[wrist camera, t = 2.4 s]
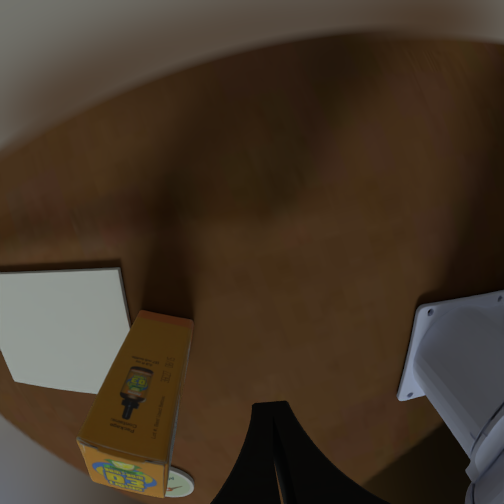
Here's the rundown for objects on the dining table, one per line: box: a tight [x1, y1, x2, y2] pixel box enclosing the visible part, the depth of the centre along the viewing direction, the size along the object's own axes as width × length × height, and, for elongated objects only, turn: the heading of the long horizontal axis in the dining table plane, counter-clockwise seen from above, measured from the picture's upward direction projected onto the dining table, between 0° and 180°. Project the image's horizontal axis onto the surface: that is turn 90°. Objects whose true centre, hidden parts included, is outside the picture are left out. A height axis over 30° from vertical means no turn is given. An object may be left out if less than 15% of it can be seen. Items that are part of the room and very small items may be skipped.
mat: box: [0, 267, 132, 394], centre depth 18 cm, size 12×9×1 cm
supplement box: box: [76, 310, 194, 498], centre depth 13 cm, size 3×3×10 cm
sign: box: [165, 467, 194, 497], centre depth 21 cm, size 5×1×15 cm
